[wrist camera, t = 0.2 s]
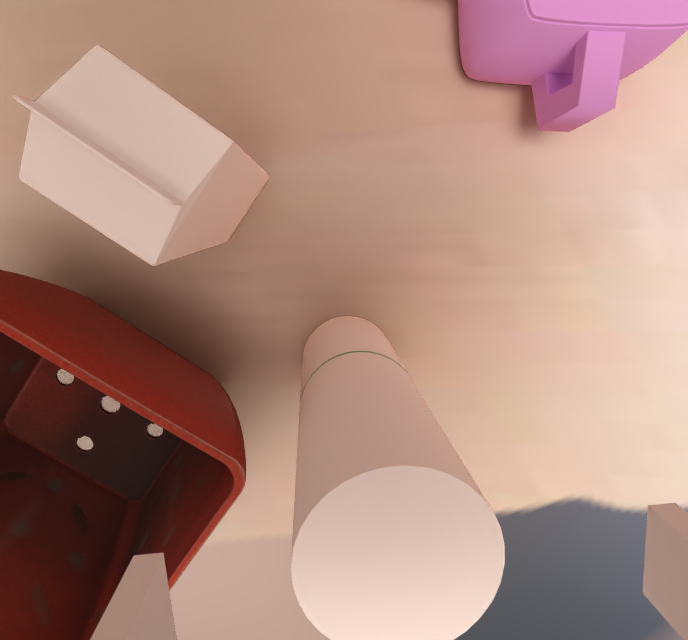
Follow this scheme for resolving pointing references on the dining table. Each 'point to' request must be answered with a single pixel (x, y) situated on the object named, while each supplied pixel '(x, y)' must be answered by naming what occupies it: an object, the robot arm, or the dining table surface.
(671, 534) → the robot arm
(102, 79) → the milk
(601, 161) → the dining table surface
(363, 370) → the cylindrical container
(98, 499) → the plant pot
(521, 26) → the teakettle
